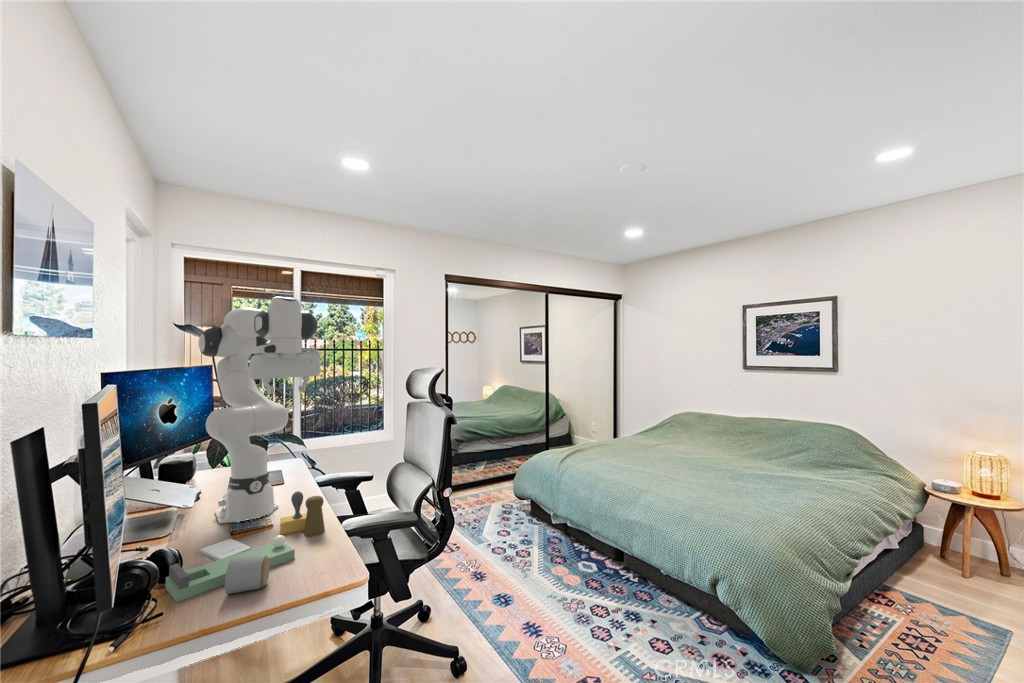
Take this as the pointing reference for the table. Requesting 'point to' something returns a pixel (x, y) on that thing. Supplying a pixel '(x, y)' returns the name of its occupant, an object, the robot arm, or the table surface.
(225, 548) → the external hard drive
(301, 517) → the rubber stamp
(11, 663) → the table surface
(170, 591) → the putting strip
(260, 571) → the ceramic mug
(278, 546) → the ball
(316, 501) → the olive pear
